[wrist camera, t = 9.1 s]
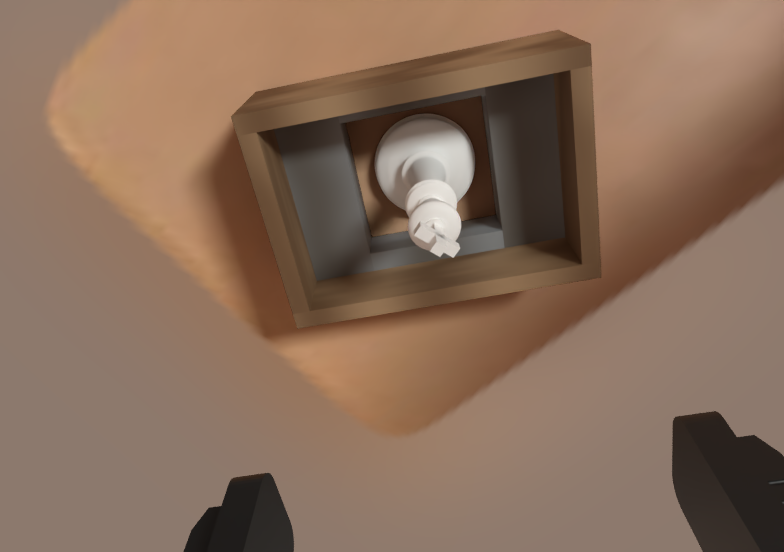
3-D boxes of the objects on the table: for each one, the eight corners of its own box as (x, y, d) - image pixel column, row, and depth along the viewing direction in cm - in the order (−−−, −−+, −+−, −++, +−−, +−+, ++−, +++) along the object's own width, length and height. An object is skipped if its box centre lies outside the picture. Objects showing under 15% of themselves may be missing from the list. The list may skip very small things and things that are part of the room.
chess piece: (438, 227, 32) (456, 332, 23) (356, 179, 31) (341, 270, 22) (495, 147, 30) (538, 228, 21) (409, 93, 29) (416, 153, 20)
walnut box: (558, 29, 27) (590, 43, 23) (572, 232, 32) (601, 277, 27) (256, 91, 29) (230, 116, 24) (310, 278, 33) (297, 328, 29)
